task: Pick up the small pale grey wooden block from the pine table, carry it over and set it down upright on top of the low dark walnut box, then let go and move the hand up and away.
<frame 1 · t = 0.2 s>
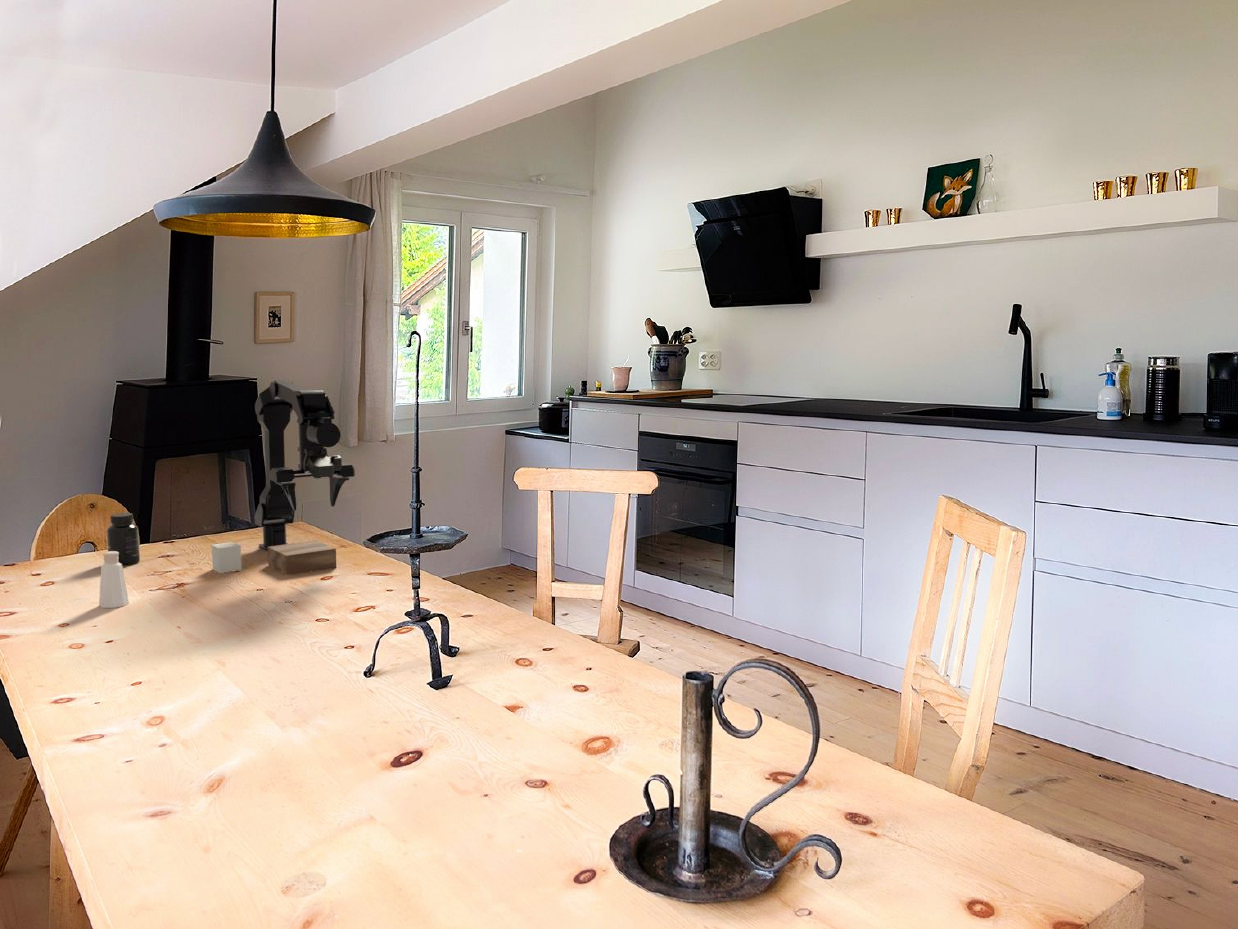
hand: (313, 508, 226), 14 cm above the table, tool pointing down, fingers open, 9 cm apart
supplement bottle: (124, 563, 230), on the table
grey block: (227, 569, 224), on the table
salt shaker: (114, 605, 194), on the table
walnut box: (302, 568, 228), on the table
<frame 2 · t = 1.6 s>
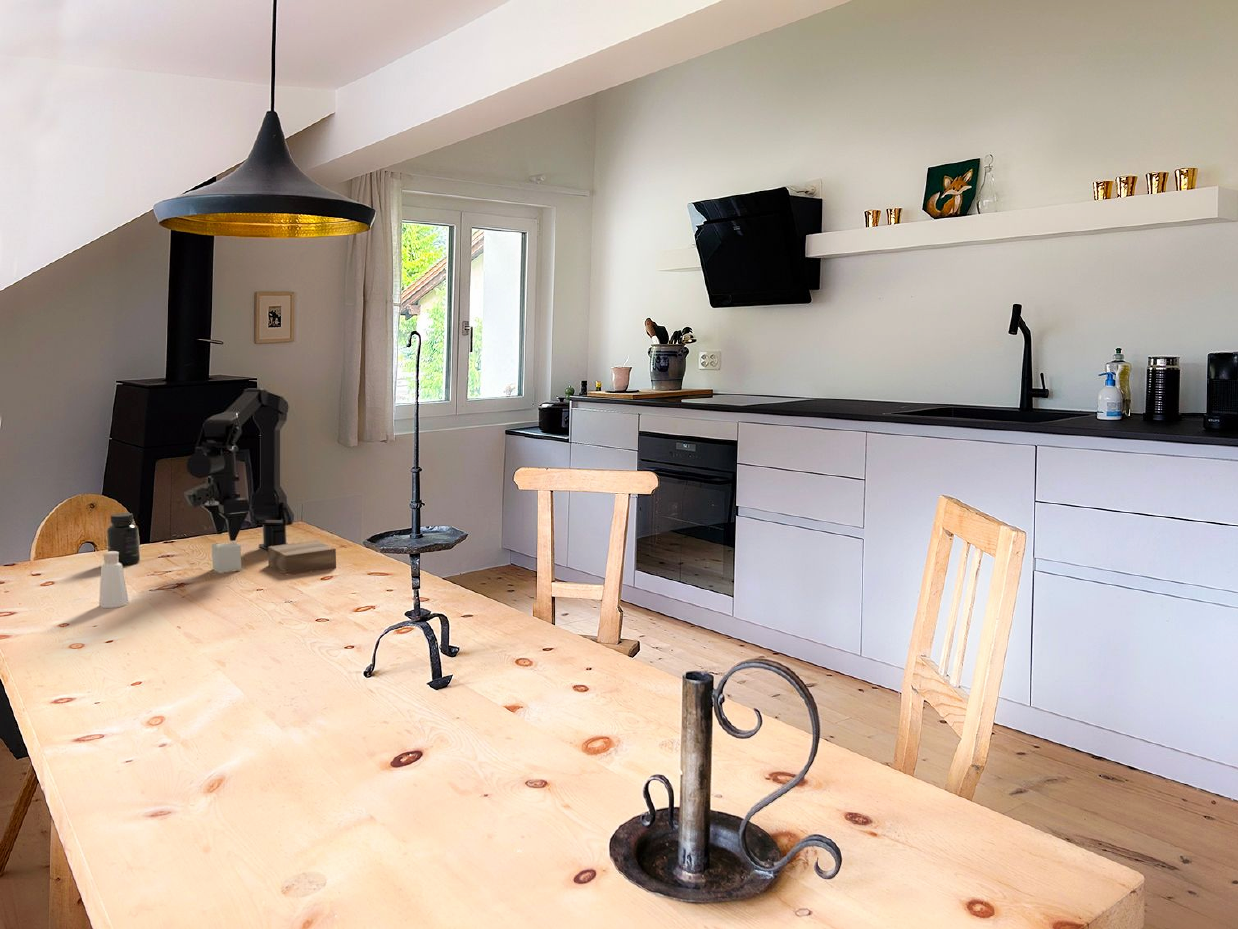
hand: (225, 537, 224), 8 cm above the table, tool pointing down, fingers open, 9 cm apart
nothing on the table moved.
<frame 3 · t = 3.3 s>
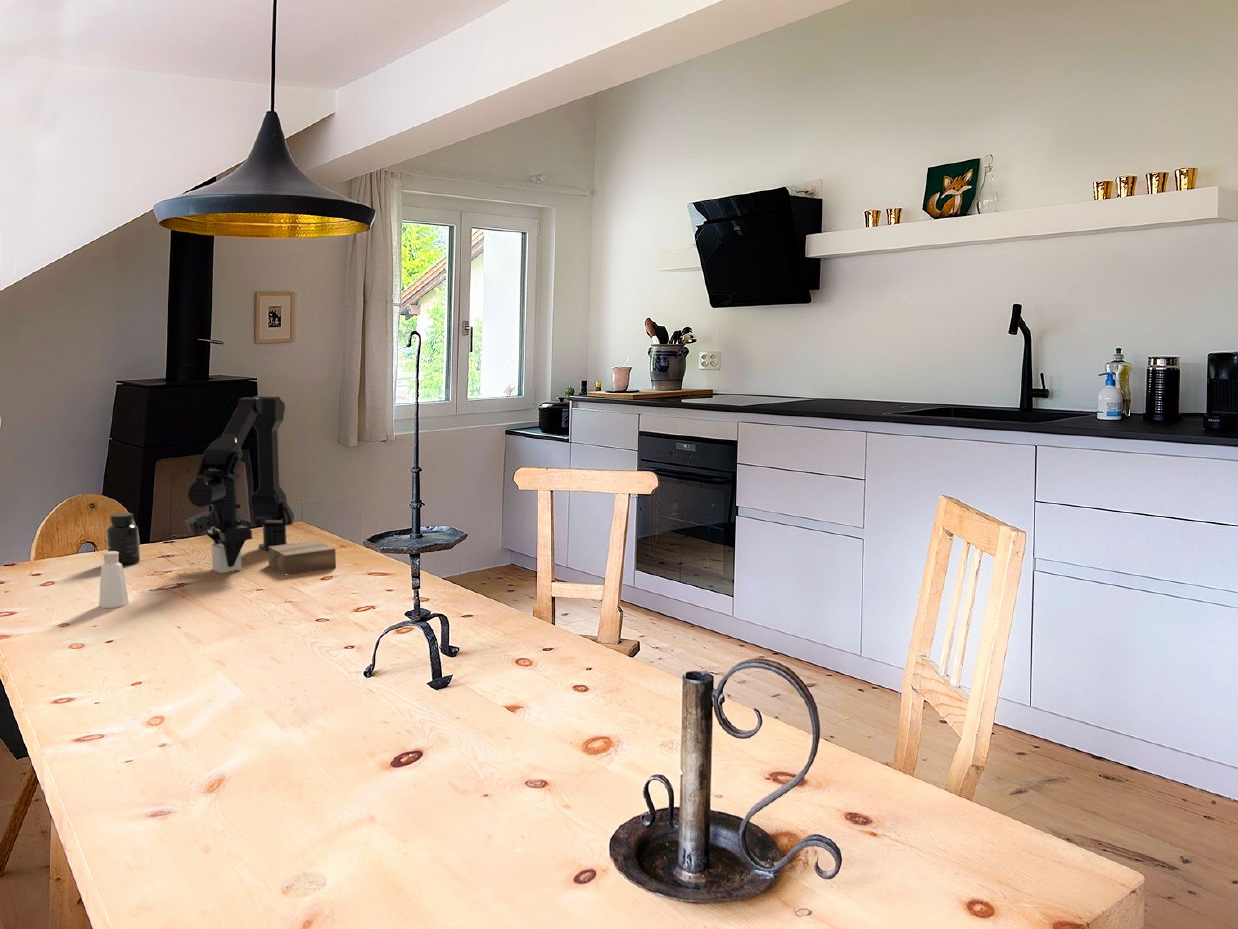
hand: (226, 564, 224), 1 cm above the table, tool pointing down, fingers closed on grey block, 5 cm apart
grey block: (227, 569, 224), on the table, touching gripper
everything else where it was.
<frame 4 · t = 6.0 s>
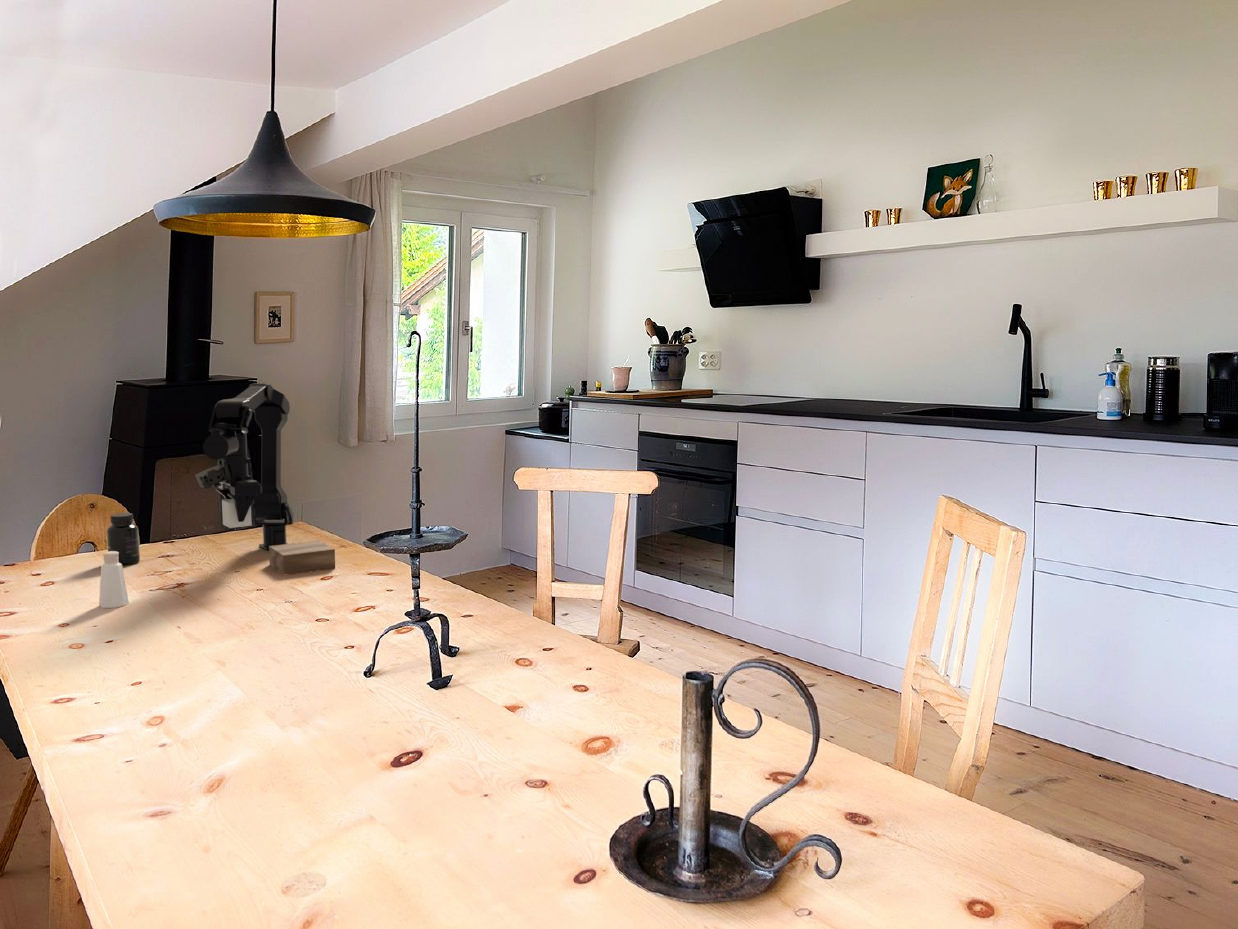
hand: (237, 519, 224), 12 cm above the table, tool pointing down, fingers closed on grey block, 5 cm apart
grey block: (237, 525, 224), point 11 cm above the table, touching gripper
everything else where it was.
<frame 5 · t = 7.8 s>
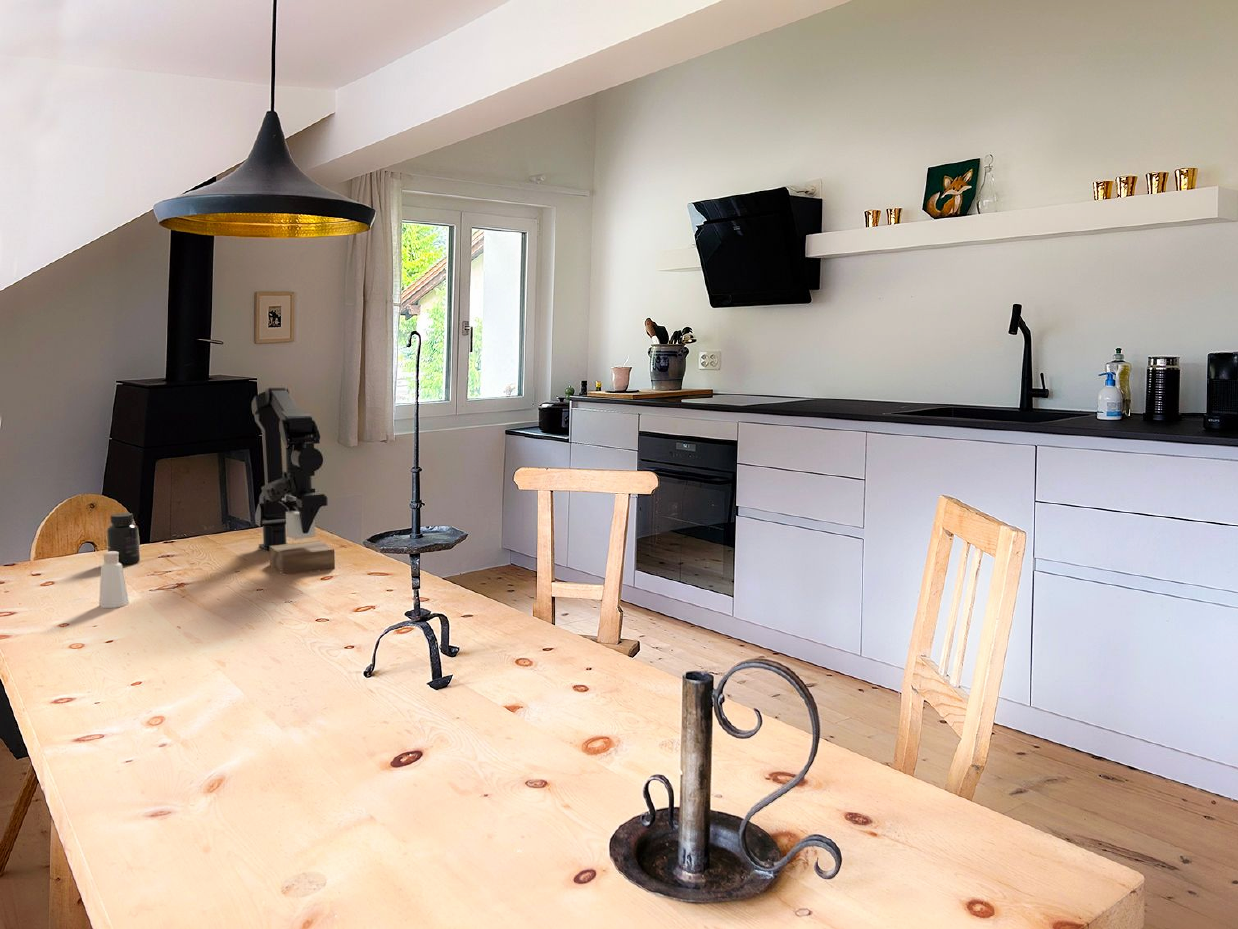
hand: (300, 531, 227), 9 cm above the table, tool pointing down, fingers closed on grey block, 5 cm apart
grey block: (300, 536, 227), point 7 cm above the table, touching gripper
everything else where it was.
when the fingers open (7 cm above the table, at t = 9.1 s): grey block drops 2 cm, point 5 cm above the table.
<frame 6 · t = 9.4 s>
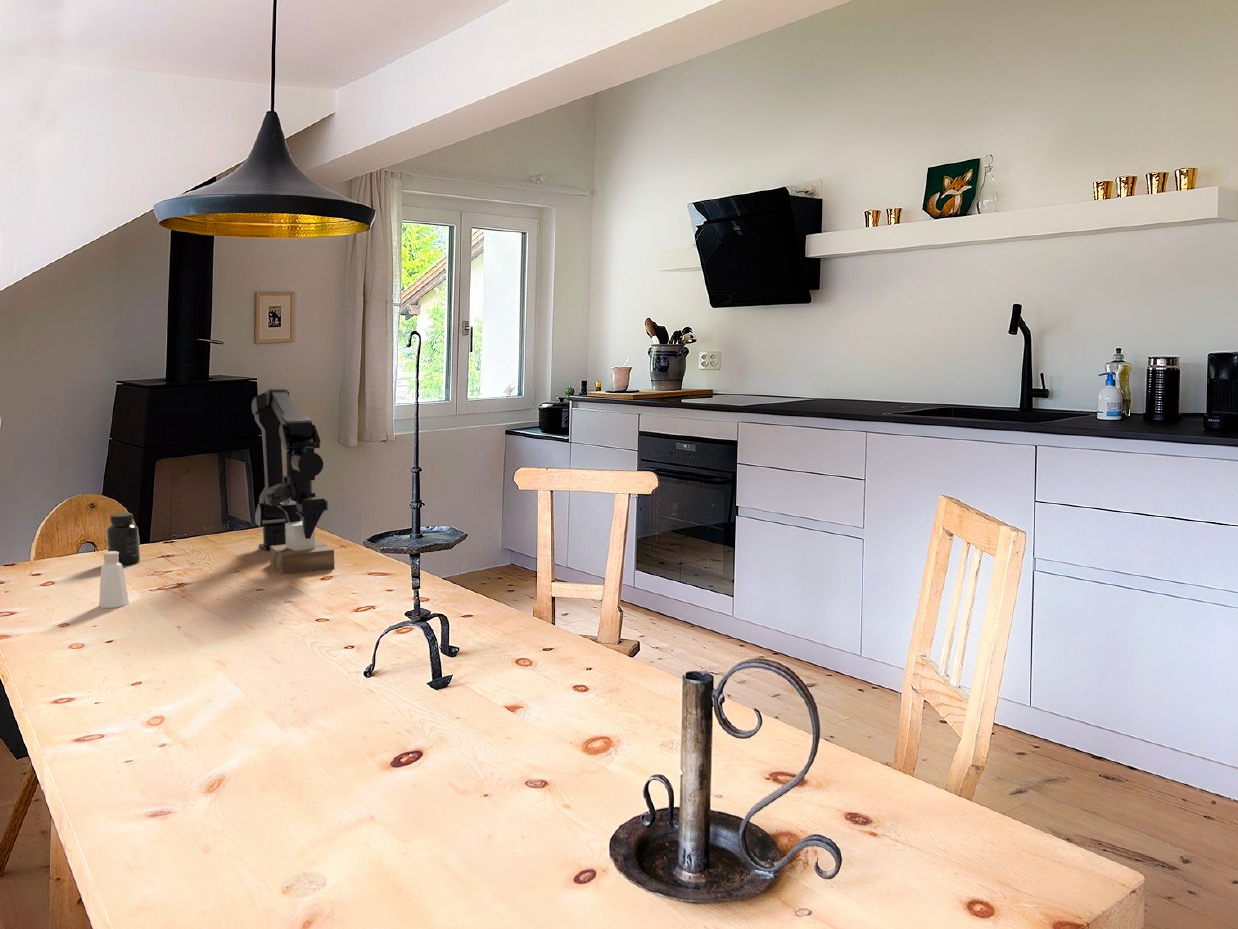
hand: (301, 536, 227), 7 cm above the table, tool pointing down, fingers open, 8 cm apart
grey block: (300, 547, 228), point 5 cm above the table
everything else where it was.
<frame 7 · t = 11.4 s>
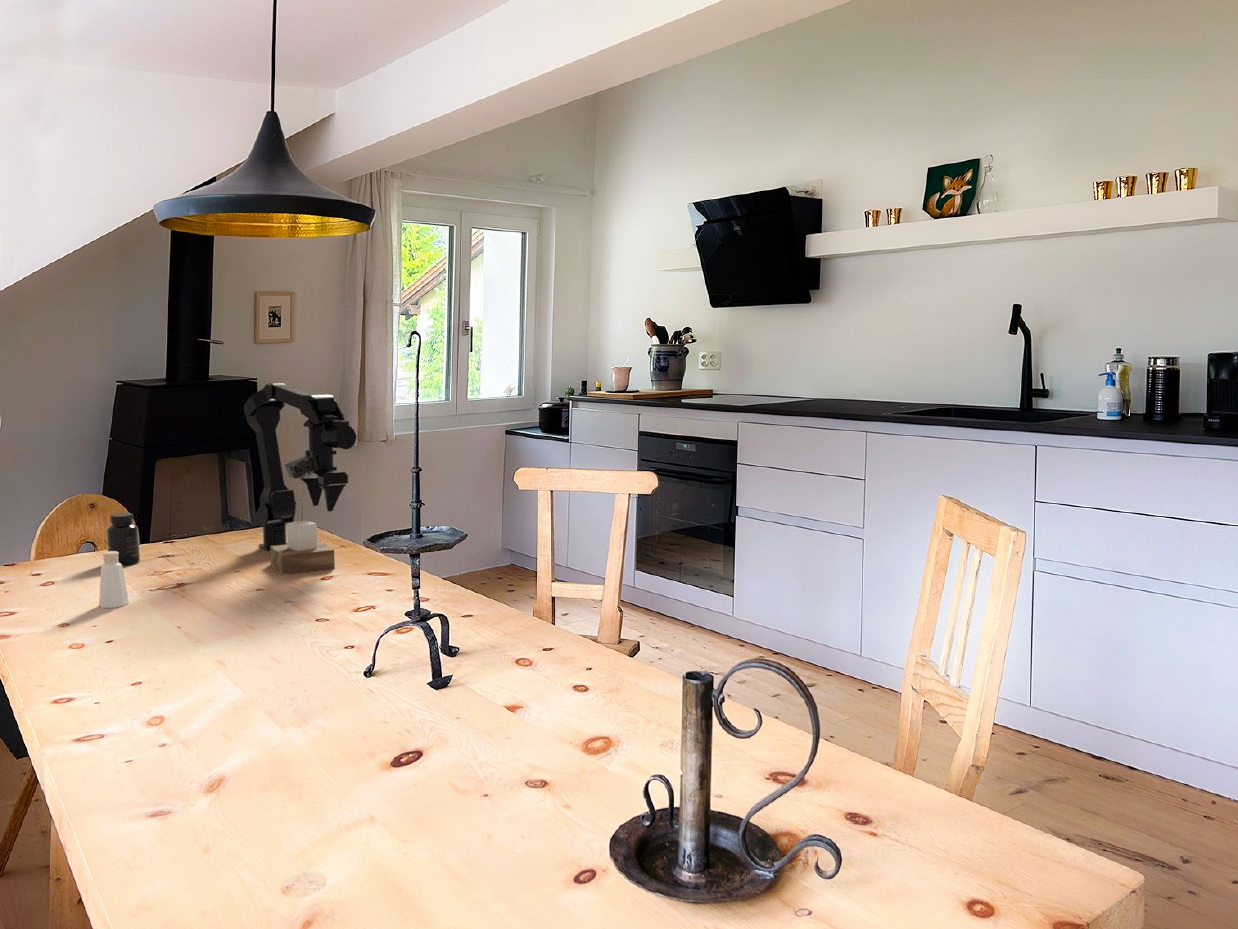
hand: (322, 508, 234), 13 cm above the table, tool pointing down, fingers open, 9 cm apart
nothing on the table moved.
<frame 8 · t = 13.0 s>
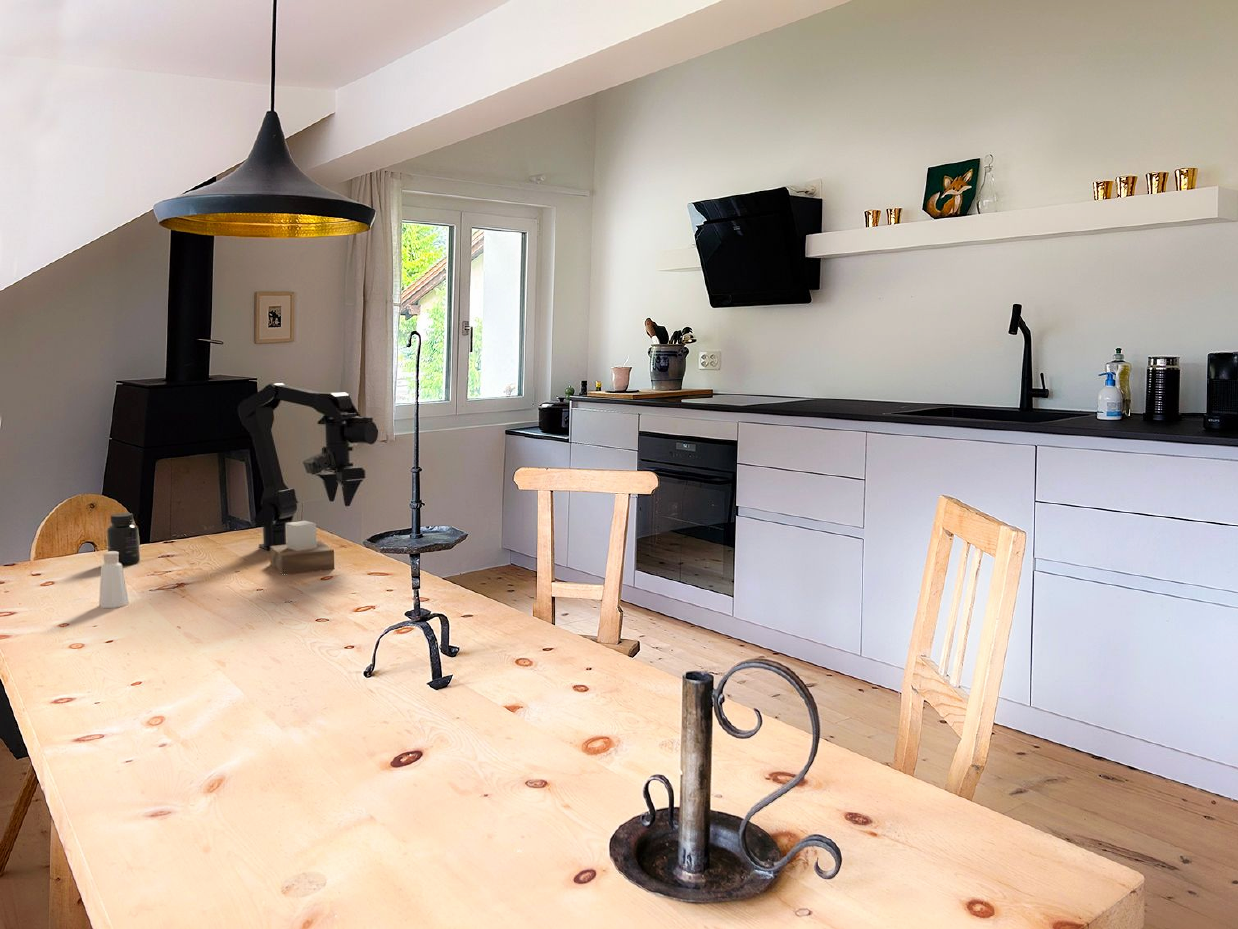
hand: (339, 503, 240), 13 cm above the table, tool pointing down, fingers open, 9 cm apart
grey block: (301, 547, 228), point 5 cm above the table, touching walnut box
walnut box: (302, 568, 228), on the table, touching grey block
everything else where it was.
at the end: grey block inside the target area on the walnut box (0.3 cm from its centre), point 5.0 cm above the walnut box's base; grey block tilted 0°; the gripper is holding nothing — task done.
